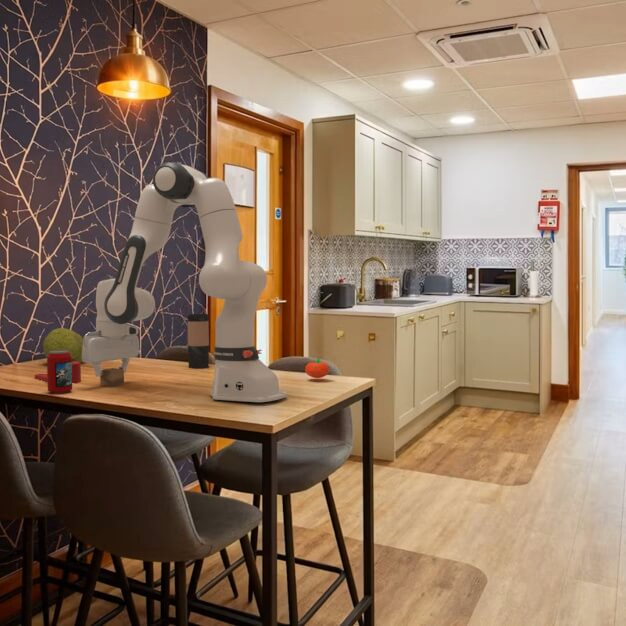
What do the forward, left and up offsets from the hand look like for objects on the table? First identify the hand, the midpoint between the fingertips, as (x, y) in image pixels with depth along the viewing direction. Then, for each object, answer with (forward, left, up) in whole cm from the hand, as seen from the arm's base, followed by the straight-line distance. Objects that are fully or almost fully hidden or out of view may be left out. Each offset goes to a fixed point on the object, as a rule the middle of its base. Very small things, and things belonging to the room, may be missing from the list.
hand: (111, 374), depth 210 cm
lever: (+20, +5, -4) cm, 21 cm away
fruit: (+44, -18, -4) cm, 48 cm away
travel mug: (+2, -43, -4) cm, 43 cm away
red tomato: (-47, -46, -4) cm, 66 cm away
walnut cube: (-1, 0, -3) cm, 3 cm away
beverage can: (+2, +17, -4) cm, 18 cm away
